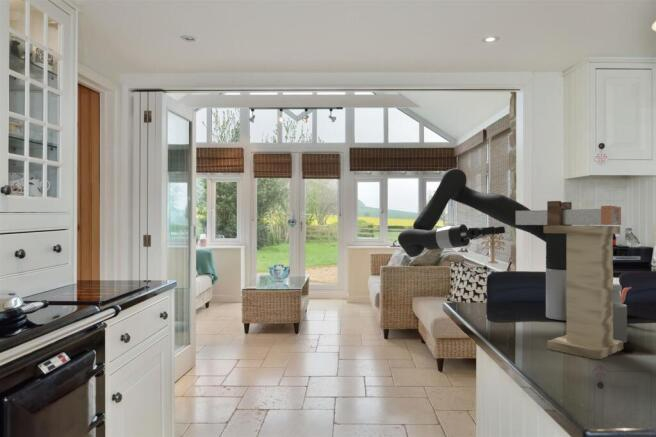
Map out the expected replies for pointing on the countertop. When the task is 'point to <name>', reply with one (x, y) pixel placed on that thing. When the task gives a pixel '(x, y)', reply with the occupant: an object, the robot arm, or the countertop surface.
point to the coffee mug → (620, 322)
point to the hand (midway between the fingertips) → (499, 229)
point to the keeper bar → (573, 216)
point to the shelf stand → (586, 286)
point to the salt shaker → (617, 293)
